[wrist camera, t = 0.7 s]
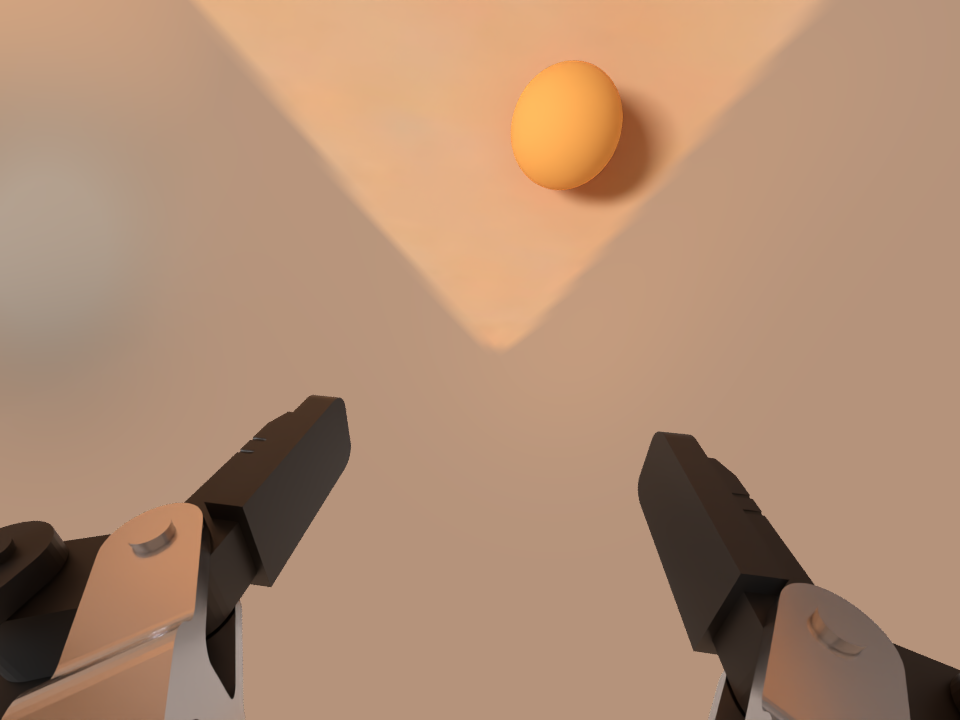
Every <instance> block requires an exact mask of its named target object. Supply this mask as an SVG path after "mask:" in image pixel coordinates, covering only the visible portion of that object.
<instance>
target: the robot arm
mask: <svg viewBox="0 0 960 720" xmlns="http://www.w3.org/2000/svg"><path fill="white" fill-rule="evenodd" d="M350 450H351V443H350V436H349V429H348V422H347V415H346V408H345V403H344V401H343V400H342V399H341V398H337V397H327V396H316V395H311V396H309V397H308V398H307V399H306V400H305V401H304V402H303V403H302V404H301V405H300V406H299V407H298V408H297V409H296V410H295V411H294V412H287V413H286V414H284V415H282V416H280V417H278V418H276V419H275V420H273V421H271V422H269V423H268V424H267V425H266V426H265V427H263V428H262V429H261V430H260V431H259V432H258V433H257V434H256V435H255V436H254V437H253V440H250V441H249V442H248V443H247V444H246V445H244V446H243V447H242V448H241V451H240V453H238V452H237V453H236V454H235V455H234V456H233V457H232V458H231V459H230V460H229V461H228V462H227V463H226V464H224V465H223V466H222V467H221V468H220V469H219V470H218V471H217V472H216V473H215V474H214V475H213V476H212V477H211V478H210V479H209V480H208V481H207V482H206V483H204V485H202V486H201V487H200V488H199V489H198V490H197V491H196V492H195V493H194V494H193V495H192V496H191V497H190V498H189V499H188V500H187V501H185V502H184V503H172V504H166V505H162V506H159V507H156V508H153V509H150V510H148V511H146V512H144V513H142V514H140V515H138V516H136V517H134V518H132V519H131V520H129V521H128V522H126V523H124V524H123V525H122V526H120V527H119V528H118V529H117V530H116V531H114V532H113V533H112V534H109V535H103V536H96V537H89V538H83V539H76V540H69V541H62V539H61V538H60V536H59V535H58V534H57V532H56V531H55V530H54V528H53V527H52V526H51V525H50V524H49V523H46V522H41V521H30V522H22V523H18V524H13V525H9V526H6V527H3V528H0V720H245V714H244V705H243V656H242V606H241V602H240V598H241V597H242V595H243V594H244V592H245V591H246V589H247V588H248V586H249V585H250V584H253V585H260V586H267V587H271V586H272V585H273V583H274V582H275V580H276V578H277V577H278V575H279V574H280V572H281V570H282V569H283V567H284V566H285V564H286V562H287V560H288V559H289V558H290V556H291V554H292V553H293V551H294V549H295V548H296V546H297V545H298V543H299V541H300V540H301V538H302V537H303V535H304V533H305V532H306V530H307V529H308V527H309V525H310V524H311V522H312V520H313V519H314V517H315V516H316V514H317V512H318V511H319V509H320V508H321V506H322V504H323V503H324V501H325V499H326V498H327V496H328V495H329V493H330V491H331V490H332V488H333V487H334V485H335V483H336V482H337V480H338V479H339V477H340V475H341V474H342V472H343V471H344V469H345V467H346V465H347V463H348V460H349V456H350ZM638 496H639V501H640V504H641V507H642V510H643V513H644V516H645V518H646V521H647V524H648V526H649V529H650V532H651V535H652V537H653V540H654V543H655V546H656V549H657V551H658V554H659V557H660V560H661V562H662V565H663V568H664V571H665V573H666V576H667V579H668V581H669V584H670V587H671V590H672V593H673V595H674V598H675V601H676V604H677V606H678V609H679V612H680V614H681V617H682V620H683V623H684V626H685V628H686V631H687V634H688V637H689V639H690V642H691V645H692V648H693V650H694V651H697V652H704V653H710V654H717V655H718V656H719V658H720V661H721V663H722V665H723V668H724V672H723V673H722V675H721V677H720V679H719V682H718V686H717V690H716V693H715V697H714V701H713V704H712V708H711V711H710V715H709V719H708V720H960V670H958V669H955V668H953V667H951V666H948V665H945V664H943V663H941V662H938V661H936V660H933V659H931V658H928V657H926V656H923V655H921V654H918V653H916V652H913V651H911V650H908V649H906V648H903V647H901V646H898V645H896V644H893V643H892V642H891V641H890V639H889V638H888V637H887V635H886V634H885V633H884V632H883V631H882V630H881V629H880V628H879V626H878V625H877V624H875V623H874V622H873V621H872V620H871V619H870V618H869V617H868V616H867V615H866V614H864V613H863V612H862V611H861V610H859V609H858V608H857V607H855V606H854V605H852V604H851V603H850V602H848V601H847V600H845V599H843V598H842V597H840V596H838V595H836V594H834V593H832V592H830V591H828V590H826V589H823V588H821V587H818V586H815V585H814V584H813V582H812V581H811V579H810V578H809V577H808V575H807V574H806V572H805V571H804V570H803V568H802V567H801V566H800V564H799V563H798V562H797V560H796V559H795V557H794V556H793V554H792V553H791V552H790V550H789V549H788V548H787V546H786V545H785V544H784V542H783V541H782V539H781V538H780V536H779V535H778V534H777V532H776V531H775V529H774V528H773V527H772V525H771V524H770V523H769V521H768V520H767V519H766V517H765V516H762V514H761V510H760V509H759V507H758V506H757V505H756V503H755V502H754V500H753V499H750V498H749V494H748V492H747V491H746V489H745V488H744V487H743V485H742V484H741V483H740V481H739V480H738V478H737V477H736V476H735V475H734V474H733V473H732V472H731V471H729V470H728V469H727V468H726V467H725V466H723V465H722V464H721V463H720V462H718V461H717V460H716V459H714V458H708V457H707V455H706V454H705V452H704V451H703V449H702V448H701V446H700V445H699V444H698V442H697V441H696V439H695V438H694V437H693V436H692V435H686V434H677V433H668V432H657V433H655V435H654V436H653V438H652V441H651V444H650V447H649V450H648V453H647V456H646V459H645V462H644V465H643V468H642V471H641V474H640V477H639V482H638Z"/></svg>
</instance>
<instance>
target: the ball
mask: <svg viewBox="0 0 960 720" xmlns="http://www.w3.org/2000/svg"><path fill="white" fill-rule="evenodd" d="M622 123H623V111H622V103H621V99H620V96H619V93H618V90H617V88H616V86H615V85H614V83H613V81H612V80H611V79H610V77H609V76H608V75H607V74H606V73H605V72H604V71H603V70H601V69H600V68H598V67H597V66H595V65H593V64H590V63H587V62H584V61H575V60H574V61H565V62H560V63H557V64H554V65H552V66H550V67H548V68H546V69H545V70H543V71H542V72H540V73H539V74H538V75H537V76H536V77H535V78H534V79H533V80H532V81H531V82H530V83H529V84H528V85H527V87H526V88H525V90H524V91H523V93H522V94H521V96H520V98H519V100H518V102H517V105H516V108H515V111H514V114H513V118H512V125H511V143H512V148H513V153H514V156H515V158H516V161H517V163H518V165H519V167H520V168H521V170H522V171H523V172H524V174H525V175H526V176H527V177H528V178H529V179H531V180H532V181H533V182H534V183H536V184H538V185H540V186H542V187H544V188H548V189H552V190H567V189H572V188H575V187H578V186H581V185H583V184H585V183H587V182H588V181H590V180H591V179H593V178H594V177H595V176H596V175H598V174H599V173H600V172H601V171H602V170H603V169H604V167H605V166H606V165H607V163H608V162H609V161H610V159H611V157H612V156H613V154H614V152H615V150H616V148H617V145H618V142H619V139H620V135H621V131H622Z"/></svg>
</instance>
